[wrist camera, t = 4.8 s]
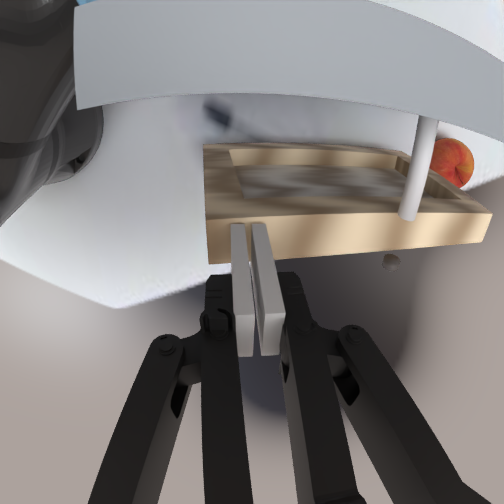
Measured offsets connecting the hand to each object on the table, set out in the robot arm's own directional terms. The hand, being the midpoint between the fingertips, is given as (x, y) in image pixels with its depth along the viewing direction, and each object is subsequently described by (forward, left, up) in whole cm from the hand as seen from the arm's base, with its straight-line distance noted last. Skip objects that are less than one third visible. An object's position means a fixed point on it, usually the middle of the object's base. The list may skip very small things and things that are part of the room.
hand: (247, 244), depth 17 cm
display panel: (+10, +10, -22) cm, 26 cm away
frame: (+8, 0, -17) cm, 19 cm away
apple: (+30, +1, -22) cm, 37 cm away
